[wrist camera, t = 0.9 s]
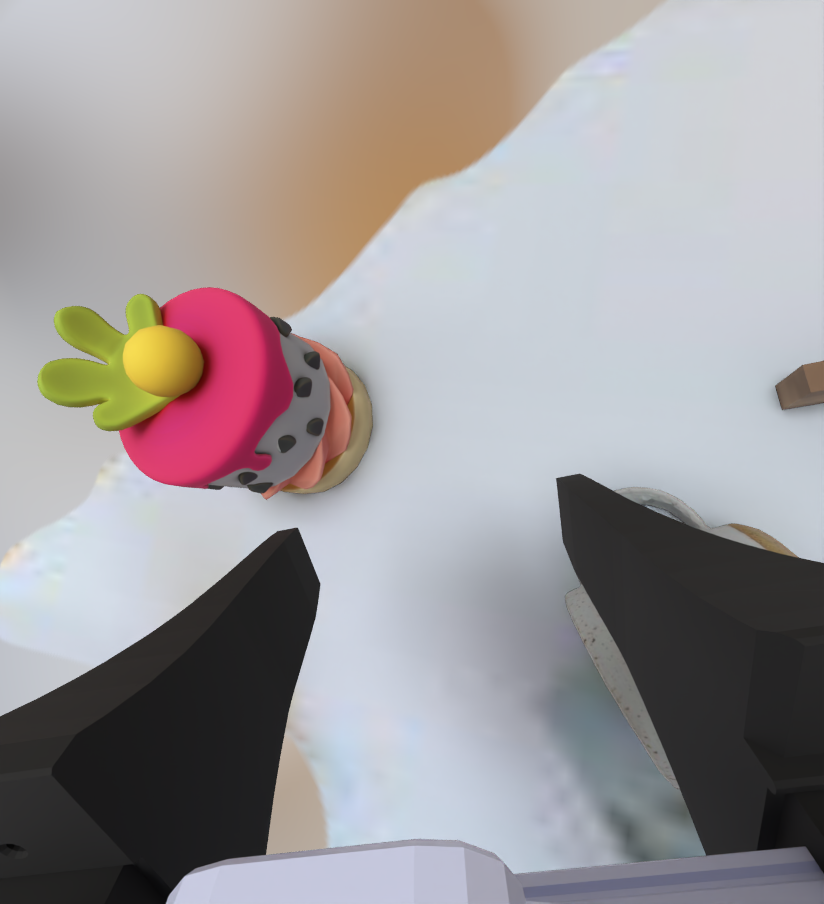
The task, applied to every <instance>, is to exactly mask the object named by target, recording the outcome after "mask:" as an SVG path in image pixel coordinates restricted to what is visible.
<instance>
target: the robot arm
mask: <svg viewBox="0 0 824 904" xmlns="http://www.w3.org/2000/svg"><path fill="white" fill-rule="evenodd" d="M556 480H557V489H558V499H559V508H560V518H561V527H562V537H563V543H564V545H565V548H566V550H567V553H568V555H569V558H570V560H571V563H572V565H573V568H574V570H575V572H576V574H577V576H578V578H579V580H580V582H581V583H582V585H583V587H584V589H585V591H586V592H587V594H588V596H589V598H590V599H591V601H592V603H593V605H594V606H595V608H596V610H597V612H598V613H599V615H600V617H601V619H602V620H603V622H604V624H605V626H606V627H607V629H608V631H609V633H610V634H611V636H612V638H613V640H614V641H615V643H616V645H617V647H618V649H619V651H620V653H621V654H622V656H623V658H624V660H625V662H626V664H627V666H628V669H629V671H630V673H631V675H632V678H633V680H634V682H635V684H636V687H637V689H638V691H639V693H640V696H641V698H642V700H643V702H644V705H645V707H646V709H647V712H648V714H649V716H650V719H651V721H652V723H653V726H654V728H655V730H656V733H657V735H658V737H659V740H660V742H661V744H662V747H663V749H664V751H665V754H666V756H667V759H668V761H669V763H670V766H671V768H672V771H673V773H674V776H675V778H676V781H677V783H678V785H679V788H680V790H681V793H682V795H683V798H684V800H685V802H686V805H687V807H688V810H689V812H690V815H691V818H692V820H693V823H694V825H695V828H696V830H697V833H698V835H699V838H700V841H701V843H702V846H703V848H704V851H705V853H706V856H699V857H688V858H678V859H667V860H657V861H646V862H636V863H625V864H615V865H604V866H594V867H583V868H573V869H562V870H552V871H541V872H531V873H520V874H513V873H512V872H511V871H510V869H509V868H508V867H507V866H506V865H505V863H504V862H503V861H502V860H501V859H500V858H499V857H498V856H497V855H496V854H495V853H492V852H489V851H486V850H484V849H481V848H478V847H476V846H473V845H470V844H468V843H465V842H462V841H457V840H431V839H411V840H402V841H392V842H383V843H374V844H364V845H355V846H345V847H336V848H327V849H317V850H308V851H299V852H289V853H280V854H271V855H266V849H267V842H268V834H269V827H270V820H271V812H272V805H273V798H274V791H275V785H276V779H277V773H278V767H279V761H280V754H281V749H282V743H283V739H284V733H285V728H286V723H287V717H288V712H289V708H290V704H291V700H292V696H293V693H294V689H295V686H296V683H297V679H298V676H299V673H300V669H301V666H302V662H303V659H304V656H305V652H306V649H307V646H308V642H309V639H310V635H311V632H312V628H313V625H314V621H315V617H316V612H317V605H318V598H319V591H320V582H319V579H318V577H317V574H316V572H315V569H314V567H313V564H312V562H311V559H310V557H309V554H308V552H307V549H306V547H305V544H304V542H303V539H302V537H301V534H300V532H299V529H298V528H293V529H287V530H282V531H277V532H276V533H275V534H273V535H272V536H270V537H269V538H268V539H267V540H265V541H264V542H263V543H262V544H261V545H259V546H258V547H257V548H256V549H255V550H254V551H253V552H251V553H250V554H249V555H248V556H247V557H246V558H245V559H243V560H242V561H241V562H240V563H239V564H238V565H237V566H236V567H234V568H233V569H232V570H231V571H230V572H229V573H228V574H226V575H225V576H224V577H223V578H222V579H221V580H219V581H218V582H217V583H216V584H215V585H213V586H212V587H211V588H210V589H208V590H207V591H206V592H205V593H204V594H202V595H201V596H200V597H199V598H198V599H196V600H195V601H194V602H193V603H191V604H190V605H189V606H188V607H186V608H185V609H184V610H182V611H181V612H180V613H178V614H177V615H176V616H174V617H173V618H171V619H170V620H169V621H167V622H166V623H164V624H163V625H162V626H160V627H159V628H157V629H156V630H154V631H153V632H152V633H150V634H149V635H147V636H146V637H144V638H142V639H141V640H139V641H138V642H136V643H134V644H133V645H131V646H130V647H128V648H126V649H125V650H123V651H122V652H120V653H118V654H117V655H115V656H114V657H112V658H111V659H109V660H107V661H106V662H104V663H102V664H101V665H99V666H97V667H95V668H94V669H92V670H90V671H88V672H87V673H85V674H83V675H81V676H79V677H78V678H76V679H74V680H72V681H70V682H68V683H66V684H65V685H63V686H61V687H59V688H57V689H55V690H53V691H51V692H49V693H48V694H46V695H44V696H42V697H40V698H38V699H36V700H34V701H32V702H30V703H27V704H25V705H23V706H21V707H19V708H17V709H15V710H13V711H11V712H9V713H6V714H4V715H2V716H0V904H824V563H821V562H816V561H811V560H806V559H802V558H797V557H793V556H789V555H784V554H780V553H776V552H773V551H769V550H765V549H761V548H758V547H754V546H750V545H747V544H743V543H740V542H736V541H733V540H730V539H726V538H723V537H720V536H717V535H714V534H712V533H709V532H706V531H703V530H700V529H697V528H694V527H691V526H689V525H686V524H684V523H681V522H679V521H676V520H674V519H671V518H669V517H667V516H664V515H662V514H660V513H657V512H655V511H653V510H651V509H649V508H646V507H644V506H642V505H640V504H638V503H636V502H634V501H632V500H630V499H628V498H626V497H624V496H622V495H620V494H618V493H616V492H614V491H612V490H610V489H609V488H607V487H605V486H603V485H601V484H599V483H597V482H595V481H594V480H592V479H590V478H588V477H586V476H584V475H582V474H576V475H571V476H565V477H560V478H556Z"/></svg>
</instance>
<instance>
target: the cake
mask: <svg viewBox="0 0 824 904" xmlns="http://www.w3.org/2000/svg"><path fill="white" fill-rule="evenodd" d="M126 318H127V322H128V326H129V333H128V334H127V335H124V334H122V333H120V332H119V331H117V330H116V329H114V328H113V327H112V326H110V325H109V324H108V323H107V322H106V321H105V320H104V319H103V318H102V317H100V316H99V315H98V314H97V313H96V312H94V311H93V310H91V309H89V308H86V307H80V306H71V307H65V308H62V309H61V310H59V311H57V312H56V314H55V317H54V324H55V328H56V330H57V332H58V334H59V335H60V336H61V337H62V338H63V340H65V341H66V342H67V343H69V344H70V345H72V346H73V347H75V348H76V349H78V350H81V351H83V352H85V353H88V354H90V355H92V356H94V357H97V358H98V359H100V360H102V361H104V362H106V363H107V364H108V365H104V364H100V363H97V362H94V361H90V360H85V359H78V358H66V359H58V360H55V361H50V362H49V363H47V364H45V365H44V367H43V368H42V369H41V371H40V373H39V375H38V381H37V382H38V387H39V390H40V392H41V393H42V395H43V396H44V397H45V398H47V399H48V400H50V401H52V402H54V403H56V404H58V405H62V406H66V407H86V406H93V405H97V404H99V405H98V406H97V407H96V408H95V409H94V412H93V419H94V422H95V424H96V425H97V426H98V428H100V429H102V430H106V431H119V432H120V437H121V440H122V442H123V445H124V448H125V450H126V452H127V453H128V455H129V457H130V459H131V460H132V461H133V463H134V464H135V465H136V466H137V467H138V468H139V470H141V471H142V472H143V473H144V474H145V475H147V476H148V477H150V478H151V479H153V480H155V481H158V482H161V483H164V484H168V485H174V486H181V487H191V488H203V489H215V490H220V489H222V488H223V487H224V486H228V487H238V488H249V490H251V491H253V492H257V493H261V494H262V496H263V497H264V498H265V499H266V500H267V499H268V498H270V497H271V496H273V495H274V494H276V493H277V492H278V491H283V492H292V493H303V494H308V493H317V492H324V491H326V490H328V489H330V488H332V487H334V486H336V485H338V484H340V483H342V482H343V481H344V480H345V479H346V478H347V477H348V476H349V475H350V474H351V473H352V472H353V471H354V470H355V469H356V468H357V466H358V464H359V462H360V461H361V459H362V457H363V455H364V453H365V452H366V450H367V448H368V444H369V439H370V435H371V431H372V427H373V422H372V404H371V401H370V398H369V396H368V393H367V390H366V387H365V385H364V384H363V383H362V381H361V380H360V379H359V378H358V377H357V375H356V374H355V373H354V372H353V371H352V370H350V369H349V368H347V367H345V366H344V365H343V363H342V361H341V360H340V358H339V356H338V354H336V353H335V352H333V351H331V350H330V349H328V348H326V347H325V346H323V345H321V344H320V343H318V342H315V341H312V340H309V339H306V338H303V337H299V336H297V335H295V334H292V333H290V332H291V330H292V329H291V327H290V325H289V324H287V323H286V322H284V321H283V320H282V319H280V318H278V317H277V318H275V317H270V318H269V317H268V316H267V315H266V314H264V313H263V312H262V311H261V310H259V309H258V308H257V307H256V306H254V305H253V304H251V303H250V302H248V301H247V300H245V299H244V298H242V297H241V296H239V295H237V294H235V293H232V292H230V291H227V290H223V289H219V288H210V287H209V288H200V289H194V290H190V291H188V292H185V293H182V294H180V295H178V296H177V297H175V298H173V299H171V300H170V301H168V302H167V303H166V304H164V305H163V306H162V307H160V308H159V306H158V305H157V303H156V302H155V301H154V300H153V299H152V298H151V297H149V296H147V295H144V294H137V295H135V296H134V297H132V298H131V299H130V301H129V302H128V304H127V306H126Z"/></svg>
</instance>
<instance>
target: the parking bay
mask: <svg viewBox="0 0 824 904" xmlns="http://www.w3.org/2000/svg"><path fill="white" fill-rule="evenodd" d="M776 390H777V393H778V397H779V400H780V404H781V407H782V410H784V409H790V408H796V407H802V406H808V405H814V404H820V403H824V361H821V362H816V363H811V364H805V365H802V366H801V367H799V368H798V369H797V370H795V371H794V372H793V373H792V374H790V375H789V376H788V377H786V378H785V379H784V380H782V381H781V382H780V383H778V384H777V385H776Z"/></svg>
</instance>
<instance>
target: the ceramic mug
mask: <svg viewBox="0 0 824 904" xmlns="http://www.w3.org/2000/svg"><path fill="white" fill-rule="evenodd" d="M614 492H616V493H618V494H620V495H622V496H624V497H626V498H628V499H630V500H632V501H634V502H636V503H638V504H640V505H652V506H655V507H658V508H662V509H666V510H667V511H669V512H671V513H673V514H674V515H675V516H676V517H678V518H680V519H681V520H682V521H683V522H685V523H686V524H687V525H689V526H691V527H694V528H697V529H700V530H703V531H706V532H709V533H712V534H714V535H717V536H720V537H723V538H726V539H730V540H733V541H736V542H740V543H743V544H747V545H750V546H754V547H758V548H761V549H765V550H769V551H773V552H776V553H780V554H784V555H789V556H793V557H797V556H796V555H795V554H794V553H792V552H791V551H790V550H789V549H788V548H786V547H785V546H784V545H783V544H782V543H780V542H779V541H777V540H776V539H774V538H773V537H771V536H770V535H768V534H766V533H764V532H762V531H761V530H759V529H756V528H752V527H749V526H745V525H740V524H728V525H723V526H719V527H715V528H709V527H708V526H707V525H706V524H705V522H704V521H703V519H702V518H701V517H700V516H699V515H698V514H697V513H696V512H695V511H694V510H693V509H692V508H690V507H689V506H687V505H686V504H685V503H684V502H683V501H681V500H680V499H678V498H676V497H674V496H672V495H670V494H668V493H666V492H664V491H661V490H656V489H651V488H641V487H631V488H624V489H619V490H615V491H614ZM797 558H799V557H797ZM578 579H579V578H578ZM579 581H580V580H579ZM580 583H581V582H580ZM565 600H566V606H567V609H568V611H569V613H570V616H571V618H572V621H573V623H574V625H575V627H576V629H577V631H578V633H579V635H580V637H581V639H582V641H583V644H584V645H585V647H586V649H587V651H588V652H589V654H590V656H591V658H592V660H593V662H594V664H595V666H596V668H597V670H598V672H599V673H600V675H601V677H602V679H603V681H604V683H605V685H606V686H607V688H608V689H609V691H610V693H611V694H612V696H613V698H614V700H615V701H616V703H617V704H618V706H619V708H620V710H621V712H622V713H623V715H624V716H625V718H626V719H627V721H628V723H629V725H630V726H631V728H632V729H633V731H634V732H635V734H636V735H637V737H638V738H639V740H640V741H641V743H642V745H643V746H644V748H645V750H646V751H647V753H648V754H649V756H650V758H651V759H652V761H653V762H654V764H655V765H656V767H657V769H658V770H659V771H660V772H661V774H662V775H663V776H664V777H665V779H666V780H668V781H669V782H670V783H671V784H672V785H673V786H674V787H675V788H677V789H680V788H679V785H678V783H677V781H676V778H675V776H674V773H673V771H672V768H671V766H670V763H669V761H668V759H667V756H666V754H665V751H664V749H663V747H662V744H661V742H660V740H659V737H658V735H657V733H656V730H655V728H654V726H653V723H652V721H651V719H650V716H649V714H648V712H647V709H646V707H645V705H644V702H643V700H642V698H641V696H640V693H639V691H638V689H637V687H636V684H635V682H634V680H633V678H632V675H631V673H630V671H629V669H628V666H627V664H626V662H625V660H624V658H623V656H622V654H621V653H620V651H619V649H618V647H617V645H616V643H615V641H614V640H613V638H612V636H611V634H610V633H609V631H608V629H607V627H606V626H605V624H604V622H603V620H602V619H601V617H600V615H599V613H598V612H597V610H596V608H595V606H594V605H593V603H592V601H591V599H590V598H589V596H588V594H587V592H586V591H585V589H584V587H583V585H582V583H581V586H580V587H579V588H576V589H574V590H572V591H570V592H568V593H567V594H566V597H565Z"/></svg>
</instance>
